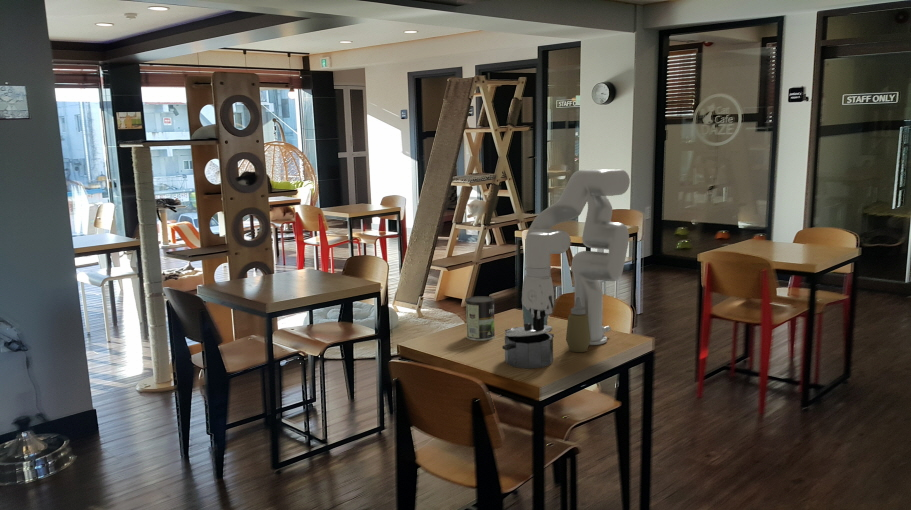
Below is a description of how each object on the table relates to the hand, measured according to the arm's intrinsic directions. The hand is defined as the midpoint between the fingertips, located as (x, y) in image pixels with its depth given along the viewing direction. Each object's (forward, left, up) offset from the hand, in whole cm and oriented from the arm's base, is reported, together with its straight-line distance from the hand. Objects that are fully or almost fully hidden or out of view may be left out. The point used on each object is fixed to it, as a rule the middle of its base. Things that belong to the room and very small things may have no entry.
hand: (538, 329), depth 221 cm
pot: (0, -5, -11) cm, 12 cm away
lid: (0, -5, -2) cm, 6 cm away
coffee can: (-7, -37, -12) cm, 39 cm away
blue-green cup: (-28, -30, -12) cm, 43 cm away
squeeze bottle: (-20, -2, -12) cm, 23 cm away
